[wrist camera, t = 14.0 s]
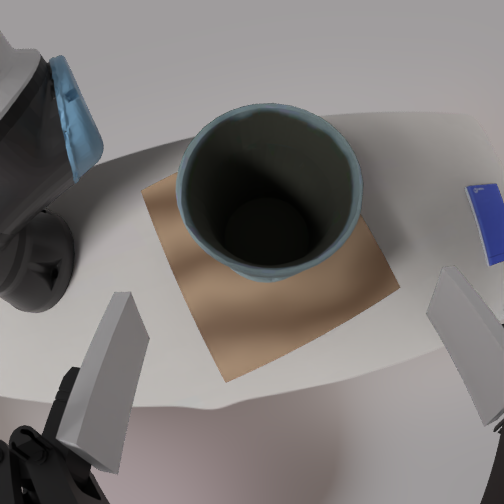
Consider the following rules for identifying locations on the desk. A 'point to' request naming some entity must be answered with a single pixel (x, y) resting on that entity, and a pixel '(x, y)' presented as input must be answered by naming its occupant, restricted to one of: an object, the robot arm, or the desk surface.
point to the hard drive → (488, 219)
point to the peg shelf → (266, 291)
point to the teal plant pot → (269, 190)
